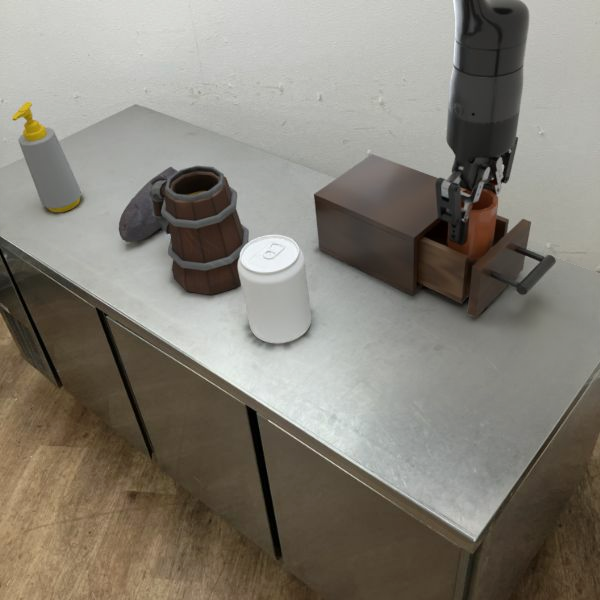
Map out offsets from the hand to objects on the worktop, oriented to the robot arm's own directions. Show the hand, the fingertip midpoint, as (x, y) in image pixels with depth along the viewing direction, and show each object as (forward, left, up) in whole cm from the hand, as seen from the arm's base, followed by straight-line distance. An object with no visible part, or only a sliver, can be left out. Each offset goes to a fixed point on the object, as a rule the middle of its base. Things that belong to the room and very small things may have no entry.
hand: (471, 229), depth 81 cm
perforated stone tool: (+47, +17, -9) cm, 50 cm away
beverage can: (+15, +21, -9) cm, 27 cm away
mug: (+33, +19, -9) cm, 39 cm away
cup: (0, 0, -2) cm, 2 cm away
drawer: (0, 0, -8) cm, 8 cm away
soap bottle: (+66, +23, -9) cm, 70 cm away
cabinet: (+13, 0, -9) cm, 15 cm away
